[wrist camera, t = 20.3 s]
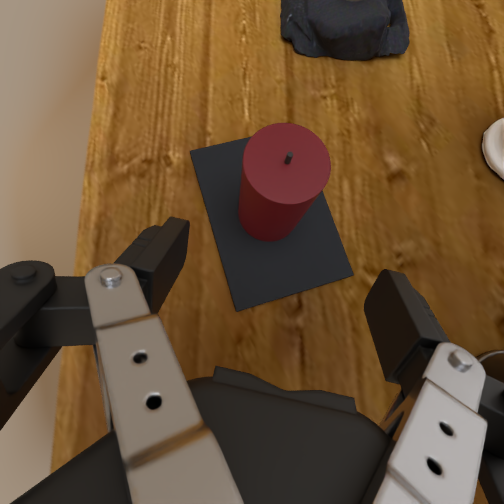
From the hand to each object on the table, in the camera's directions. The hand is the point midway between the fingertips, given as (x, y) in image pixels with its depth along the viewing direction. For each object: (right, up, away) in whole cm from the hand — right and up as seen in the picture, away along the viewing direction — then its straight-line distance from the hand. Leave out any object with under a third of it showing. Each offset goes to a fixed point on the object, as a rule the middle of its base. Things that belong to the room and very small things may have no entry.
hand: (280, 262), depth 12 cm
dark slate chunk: (+10, +34, +25) cm, 43 cm away
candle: (0, +4, +17) cm, 18 cm away
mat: (+1, +4, +18) cm, 19 cm away
